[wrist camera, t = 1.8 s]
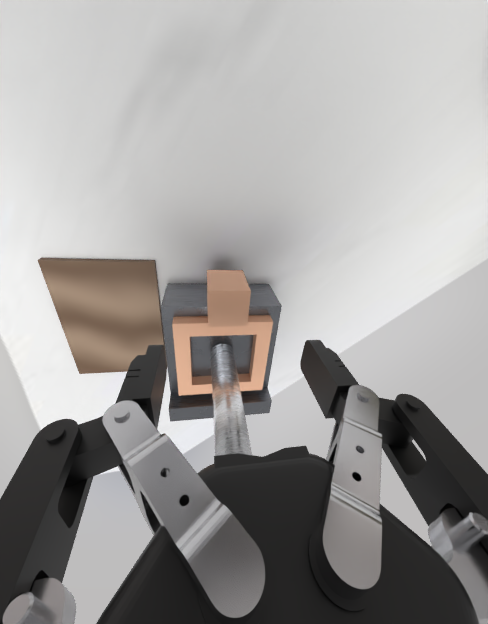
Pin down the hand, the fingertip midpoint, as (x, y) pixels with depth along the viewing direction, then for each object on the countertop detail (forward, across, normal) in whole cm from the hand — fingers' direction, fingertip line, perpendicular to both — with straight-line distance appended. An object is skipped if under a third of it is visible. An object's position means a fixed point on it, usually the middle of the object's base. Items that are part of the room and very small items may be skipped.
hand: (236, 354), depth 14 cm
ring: (+9, 0, +5) cm, 10 cm away
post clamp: (+14, 0, +9) cm, 17 cm away
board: (+14, +12, +6) cm, 19 cm away
